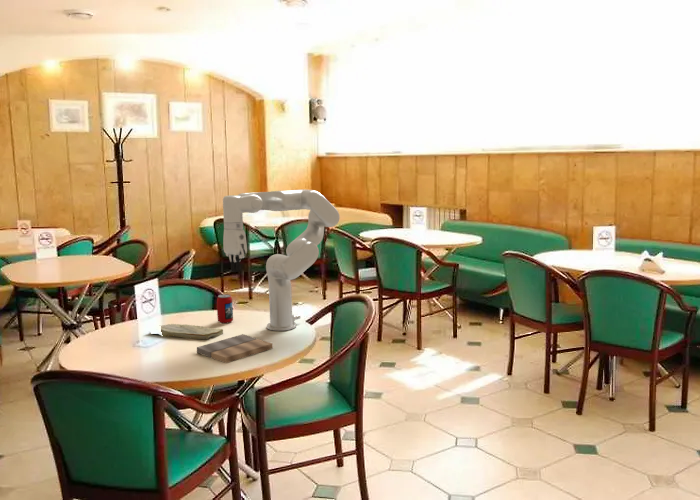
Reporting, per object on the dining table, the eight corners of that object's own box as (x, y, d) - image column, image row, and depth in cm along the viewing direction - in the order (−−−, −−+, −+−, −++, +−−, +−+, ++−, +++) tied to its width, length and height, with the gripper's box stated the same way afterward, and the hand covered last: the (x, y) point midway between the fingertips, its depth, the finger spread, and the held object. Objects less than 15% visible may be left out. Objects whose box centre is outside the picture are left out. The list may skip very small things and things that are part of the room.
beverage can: (231, 323, 284) (230, 297, 282) (216, 324, 284) (214, 297, 283) (234, 319, 291) (233, 293, 289) (219, 320, 291) (218, 294, 289)
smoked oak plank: (242, 338, 261) (242, 334, 260) (256, 343, 255) (256, 338, 255) (196, 352, 245) (196, 347, 244) (210, 357, 239) (210, 352, 239)
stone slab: (163, 321, 280) (223, 324, 270) (163, 330, 281) (224, 333, 271) (145, 328, 269) (208, 331, 259) (146, 338, 269) (208, 341, 259)
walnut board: (257, 343, 255) (257, 338, 254) (272, 348, 249) (272, 343, 248) (211, 357, 239) (211, 352, 238) (226, 362, 233) (226, 357, 232)
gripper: (252, 226, 256) (254, 272, 259) (229, 224, 266) (231, 268, 269) (237, 228, 251) (239, 275, 254) (214, 226, 261) (216, 270, 264)
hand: (235, 271), depth 261 cm, fingers closed
